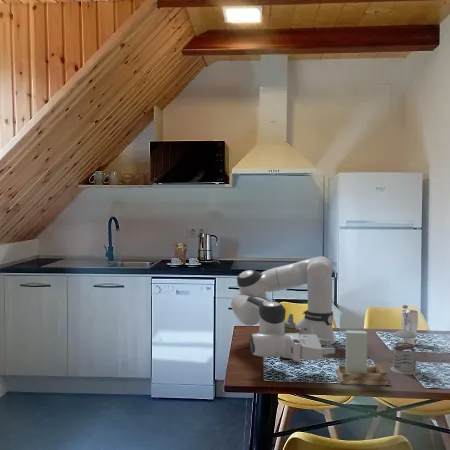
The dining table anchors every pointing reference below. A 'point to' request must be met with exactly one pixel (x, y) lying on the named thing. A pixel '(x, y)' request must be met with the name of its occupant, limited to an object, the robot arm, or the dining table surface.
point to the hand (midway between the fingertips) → (332, 346)
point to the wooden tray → (364, 376)
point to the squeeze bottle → (290, 326)
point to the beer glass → (410, 324)
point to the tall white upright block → (356, 352)
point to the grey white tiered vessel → (405, 353)
